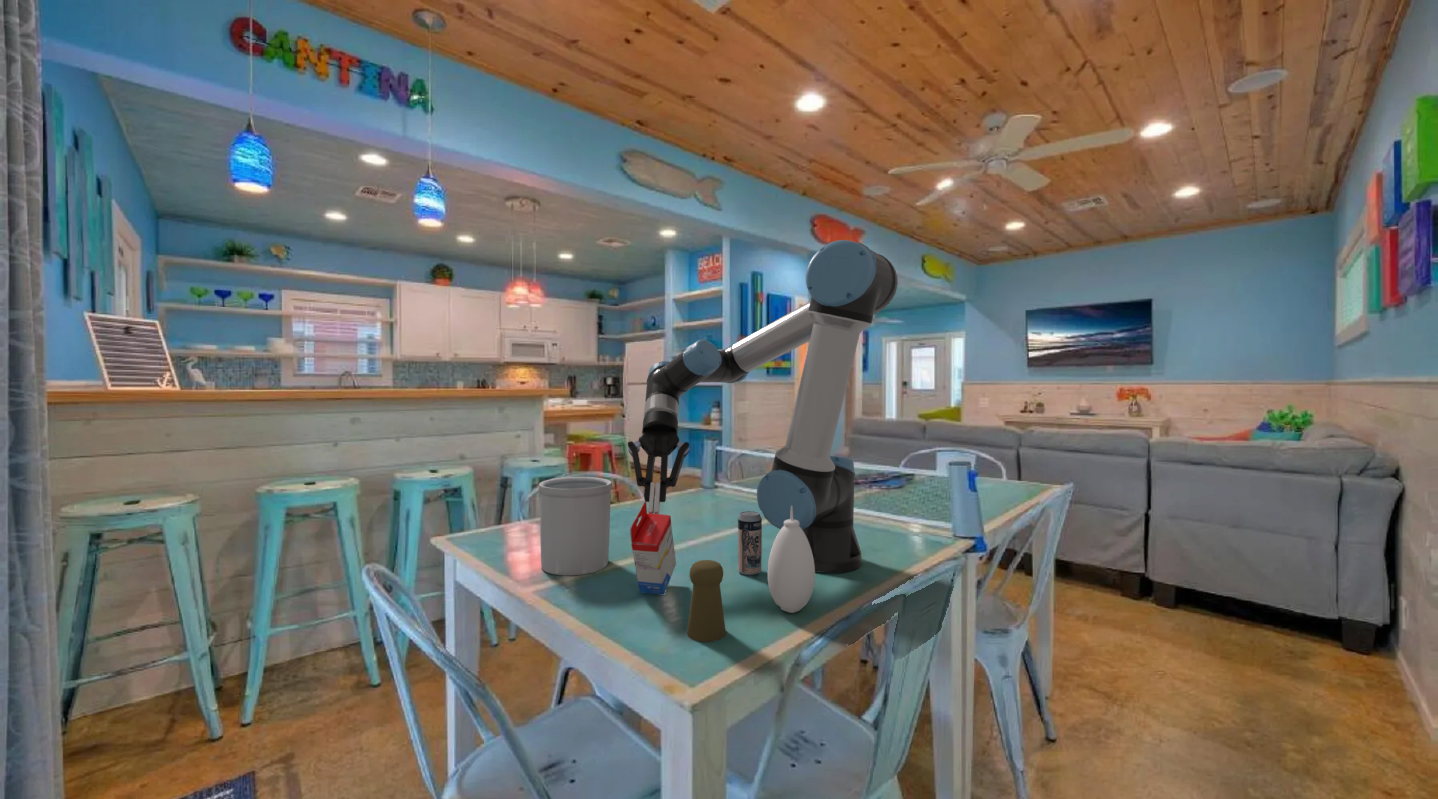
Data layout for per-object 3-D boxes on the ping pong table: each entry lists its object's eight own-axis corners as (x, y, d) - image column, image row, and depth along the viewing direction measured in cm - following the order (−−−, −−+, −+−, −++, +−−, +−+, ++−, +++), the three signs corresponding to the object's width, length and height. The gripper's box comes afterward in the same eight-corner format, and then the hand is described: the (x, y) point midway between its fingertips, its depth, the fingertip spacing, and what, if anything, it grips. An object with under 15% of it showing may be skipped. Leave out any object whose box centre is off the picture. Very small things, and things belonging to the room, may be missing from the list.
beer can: (745, 577, 109) (745, 517, 109) (733, 570, 113) (733, 512, 113) (765, 573, 111) (766, 514, 111) (753, 566, 116) (753, 509, 115)
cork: (686, 624, 88) (686, 556, 88) (723, 623, 89) (724, 555, 88) (687, 642, 82) (687, 569, 82) (727, 641, 83) (728, 568, 82)
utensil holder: (587, 549, 127) (586, 473, 126) (626, 564, 117) (625, 482, 116) (526, 564, 116) (525, 481, 116) (563, 583, 106) (562, 492, 105)
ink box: (664, 596, 100) (655, 532, 93) (638, 593, 101) (627, 529, 94) (677, 563, 107) (669, 501, 101) (652, 560, 108) (643, 499, 102)
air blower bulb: (759, 613, 92) (760, 506, 92) (779, 598, 99) (780, 498, 98) (803, 624, 88) (804, 512, 88) (821, 607, 95) (822, 503, 94)
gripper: (691, 431, 123) (689, 525, 107) (631, 430, 123) (619, 525, 107) (691, 409, 118) (689, 504, 102) (628, 408, 117) (615, 504, 101)
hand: (653, 515), depth 104 cm, fingers closed
